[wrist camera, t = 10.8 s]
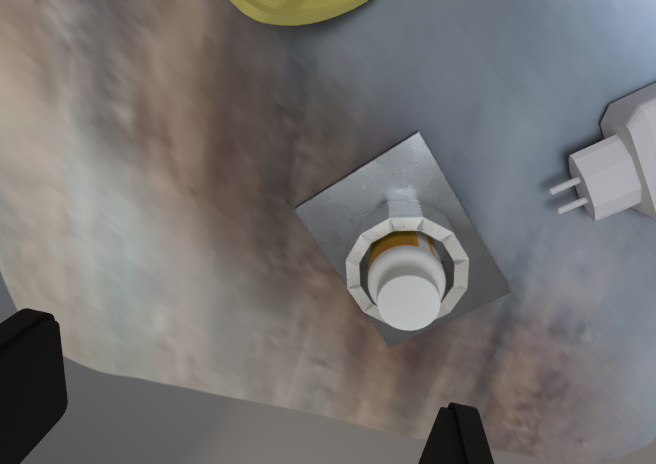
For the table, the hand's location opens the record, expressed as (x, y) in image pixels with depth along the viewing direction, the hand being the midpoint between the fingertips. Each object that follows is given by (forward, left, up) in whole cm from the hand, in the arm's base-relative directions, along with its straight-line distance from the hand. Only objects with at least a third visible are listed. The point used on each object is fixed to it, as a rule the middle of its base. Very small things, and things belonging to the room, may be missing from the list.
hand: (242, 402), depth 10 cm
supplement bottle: (+8, +1, -25) cm, 26 cm away
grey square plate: (+8, +1, -26) cm, 27 cm away
